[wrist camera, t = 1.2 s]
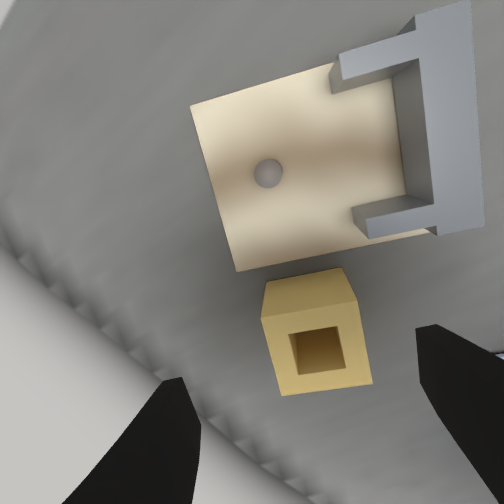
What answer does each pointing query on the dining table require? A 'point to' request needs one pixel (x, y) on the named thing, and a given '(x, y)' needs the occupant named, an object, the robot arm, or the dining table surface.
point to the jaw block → (315, 333)
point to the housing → (425, 122)
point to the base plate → (300, 164)
